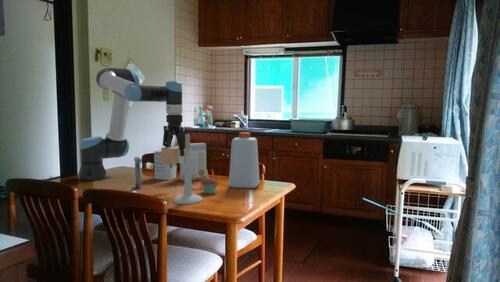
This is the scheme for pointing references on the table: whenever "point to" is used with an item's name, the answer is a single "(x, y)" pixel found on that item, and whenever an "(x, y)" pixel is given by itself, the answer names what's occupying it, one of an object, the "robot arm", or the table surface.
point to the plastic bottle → (244, 162)
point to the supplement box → (163, 168)
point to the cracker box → (196, 162)
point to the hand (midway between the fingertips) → (175, 161)
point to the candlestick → (188, 179)
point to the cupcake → (209, 184)
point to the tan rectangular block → (170, 155)
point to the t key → (137, 172)
